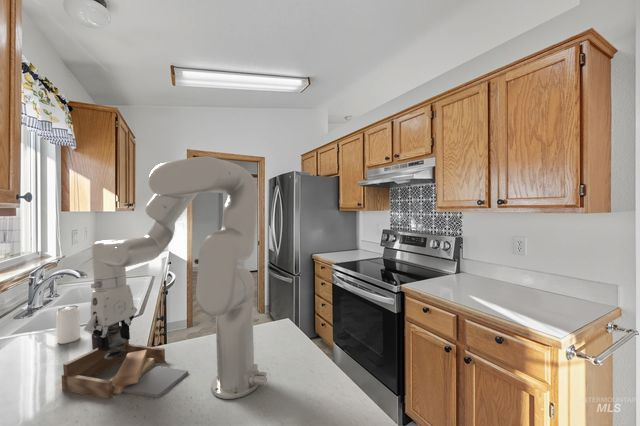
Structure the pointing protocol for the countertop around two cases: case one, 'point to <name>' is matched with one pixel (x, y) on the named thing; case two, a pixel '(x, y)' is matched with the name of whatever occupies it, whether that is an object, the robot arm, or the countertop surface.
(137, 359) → the upper offcut
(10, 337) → the countertop surface
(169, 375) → the mat
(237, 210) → the robot arm
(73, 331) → the can
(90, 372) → the rack
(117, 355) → the grey stone finial
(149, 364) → the lower offcut
